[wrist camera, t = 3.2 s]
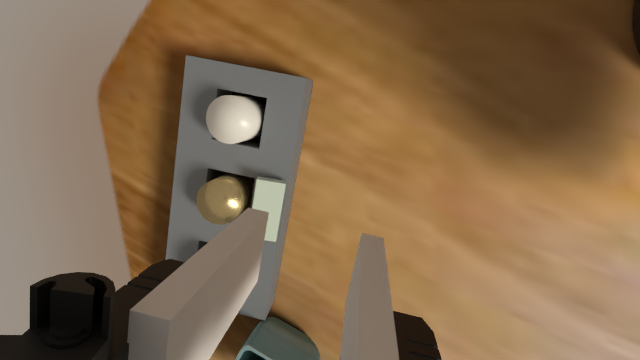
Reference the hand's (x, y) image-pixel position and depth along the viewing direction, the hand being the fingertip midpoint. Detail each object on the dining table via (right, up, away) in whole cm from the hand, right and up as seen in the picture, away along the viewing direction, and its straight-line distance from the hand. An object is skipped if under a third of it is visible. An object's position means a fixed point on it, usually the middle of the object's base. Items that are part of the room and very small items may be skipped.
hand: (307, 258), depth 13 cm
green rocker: (-5, 0, +24) cm, 24 cm away
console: (-8, +2, +28) cm, 29 cm away
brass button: (-9, +2, +27) cm, 28 cm away
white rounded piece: (-7, +9, +25) cm, 27 cm away
